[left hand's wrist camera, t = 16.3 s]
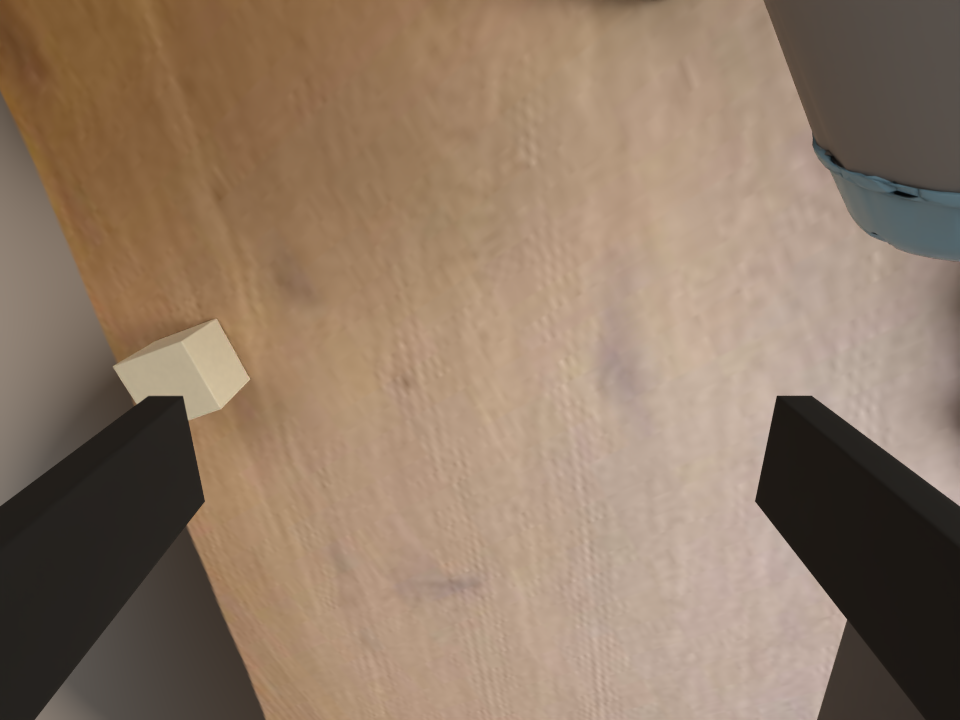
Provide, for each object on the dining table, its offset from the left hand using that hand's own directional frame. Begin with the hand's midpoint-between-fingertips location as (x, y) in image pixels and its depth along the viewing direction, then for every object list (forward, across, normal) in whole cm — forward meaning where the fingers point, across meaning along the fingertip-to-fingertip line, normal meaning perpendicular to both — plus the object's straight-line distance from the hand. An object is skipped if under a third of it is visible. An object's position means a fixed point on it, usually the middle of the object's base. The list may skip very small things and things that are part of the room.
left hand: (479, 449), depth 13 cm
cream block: (+27, -20, -8) cm, 34 cm away
